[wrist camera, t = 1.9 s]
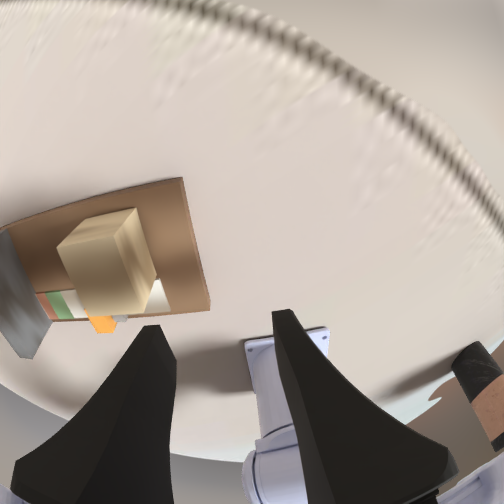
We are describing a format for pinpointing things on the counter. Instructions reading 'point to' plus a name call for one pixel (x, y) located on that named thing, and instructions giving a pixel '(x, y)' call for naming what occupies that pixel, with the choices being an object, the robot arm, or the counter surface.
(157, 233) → the base
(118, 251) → the tan rectangular block
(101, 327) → the block
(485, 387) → the travel mug
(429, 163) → the counter surface
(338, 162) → the counter surface
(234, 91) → the counter surface
